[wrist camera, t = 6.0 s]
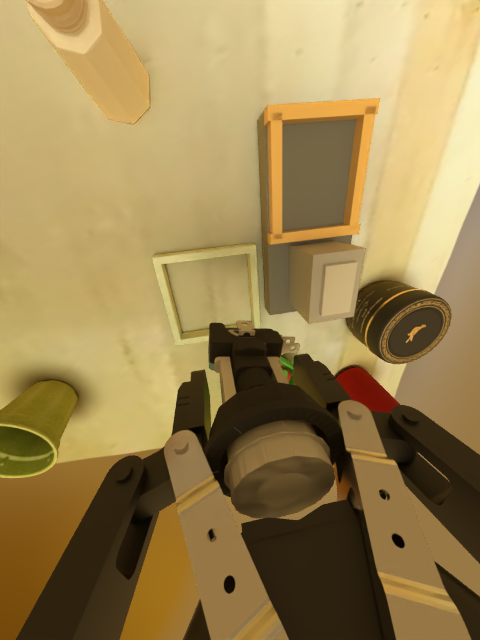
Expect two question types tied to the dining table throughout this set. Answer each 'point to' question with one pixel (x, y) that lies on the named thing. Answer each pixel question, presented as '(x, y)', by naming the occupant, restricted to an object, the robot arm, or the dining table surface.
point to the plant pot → (34, 428)
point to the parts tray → (199, 254)
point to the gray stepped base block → (313, 204)
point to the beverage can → (366, 390)
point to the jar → (399, 321)
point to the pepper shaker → (96, 54)
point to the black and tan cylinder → (267, 427)
